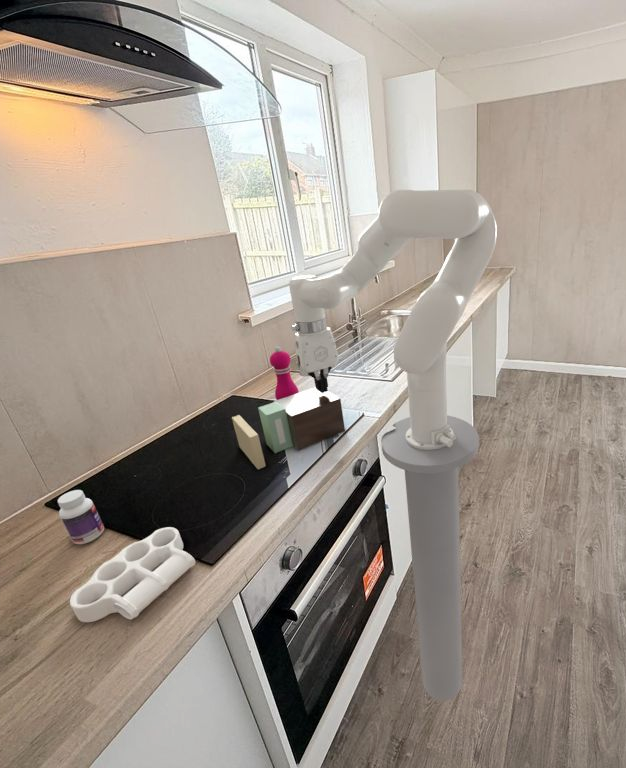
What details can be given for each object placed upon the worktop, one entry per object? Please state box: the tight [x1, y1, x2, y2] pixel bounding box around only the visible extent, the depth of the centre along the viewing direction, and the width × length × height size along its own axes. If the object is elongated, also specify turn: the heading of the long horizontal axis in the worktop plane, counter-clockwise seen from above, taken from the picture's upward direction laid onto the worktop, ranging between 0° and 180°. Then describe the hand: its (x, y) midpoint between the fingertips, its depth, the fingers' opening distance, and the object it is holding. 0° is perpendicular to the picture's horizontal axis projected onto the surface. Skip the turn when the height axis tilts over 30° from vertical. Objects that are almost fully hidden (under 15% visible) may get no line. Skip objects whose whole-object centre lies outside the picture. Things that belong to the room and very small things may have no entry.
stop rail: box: [231, 414, 267, 470], centre depth 103 cm, size 14×2×9 cm, turn 37°
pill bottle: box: [57, 489, 105, 545], centre depth 81 cm, size 5×5×10 cm
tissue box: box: [257, 401, 294, 454], centre depth 107 cm, size 11×6×5 cm
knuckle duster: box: [69, 526, 197, 623], centre depth 71 cm, size 3×18×15 cm
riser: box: [272, 387, 346, 451], centre depth 112 cm, size 12×14×10 cm
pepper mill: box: [269, 346, 300, 400], centre depth 126 cm, size 7×7×20 cm
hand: (322, 390), depth 112 cm, fingers closed
